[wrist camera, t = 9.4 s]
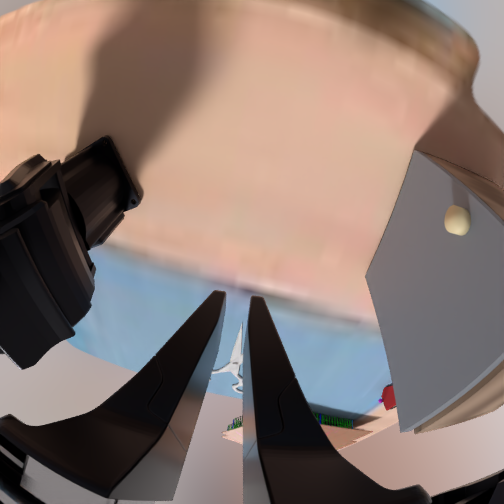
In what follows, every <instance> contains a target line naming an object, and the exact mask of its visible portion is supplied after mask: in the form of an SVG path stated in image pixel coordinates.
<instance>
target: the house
mask: <svg viewBox="0 0 504 504" xmlns="http://www.w3.org/2000/svg"><path fill="white" fill-rule="evenodd" d="M323 416H324V414H323ZM334 419H335V417H334ZM235 420H236V425H235V423H234V419H233V426H232V427H231V429H230V430H228V429H229V428H230V425H228V429H227V431H225V432H222V433H223V434H226V435H225V436H222V437H224V438H226V439H229V440H232V441H235V442H238V443H241V444H243V426H242V423H243V421H242V423H241V421H239V419H238V420H237V418H235ZM240 420H241V416H240ZM242 420H243V416H242ZM317 420H318V414H317ZM319 420H320V425H321V427H322V428H323V430H324V432H325V433H326V435H327V437H328V438H329V440H330V442H331V443H332V445H333V446H334V448H335V449H336V450H338V449H341V448H343V447H346V446H348V445H351V444H353V443H355V442H357V441H353V440H355V439H358V438H360V437H362V436H365V435H367V434H369V433H371V432H373V431H365V430H356V429H353V420H351V422H352V429H348V427H349V426H348V419H347V422H346V423H347V428H346V425H345V428H342V426H343V424H345V423H343V418H342V424H340V427H339V425H338V423H339V422H338V417H337V422H336V423H337V427H335V426H333V420H332V421H330V415H329V425H323V418H322V419H321V414H320V419H319ZM321 420H322V424H321ZM237 421H239V422H240V423H239V422H238V424H237ZM325 421H326V422H327V421H328V420H327V415H326V420H325ZM330 422H332V426H330ZM231 425H232V424H231ZM238 425H239V427H238ZM349 425H350V426H351V424H350V419H349ZM233 427H234V429H233Z"/></svg>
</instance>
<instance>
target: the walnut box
mask: <svg viewBox="0 0 504 504" xmlns="http://www.w3.org/2000/svg"><path fill="white" fill-rule="evenodd" d="M422 153H424V152H422ZM424 154H425V155H427V156H428V157H429V158H431V159H432V160H434V161H435V162H436V163H438V164H439V165H440V166H442V167H443V168H444V169H446V170H447V171H448V172H449V173H451V174H452V175H453V176H454V177H456V178H457V179H458V180H459V181H461V182H462V183H463V184H464V185H465V186H467V187H468V188H469V189H470V190H471V191H472V192H474V193H475V194H476V195H477V196H478V197H479V198H480V199H481V200H482V201H484V202H485V203H486V204H487V205H488V206H489V207H490V208H491V209H492V210H493V211H494V212H495V213H496V214H497V215H498V216H499V217H500V218H501V219H502V220H503V221H504V190H502V189H501V188H500V187H499V186H498V185H496V184H495V183H494V182H492V181H490V180H488V179H486V178H484V177H481V176H479V175H477V174H475V173H473V172H471V171H469V170H466V169H464V168H462V167H459V166H457V165H455V164H452V163H450V162H448V161H445V160H443V159H440V158H437V157H435V156H432V155H429V154H427V153H424ZM503 404H504V360H503V361H502V362H501V363H500V364H499V365H498V366H497V367H496V368H494V369H493V370H492V371H491V372H490V373H489V374H488V375H487V376H486V377H485V378H483V379H482V380H481V381H480V382H479V383H478V384H476V385H475V386H474V387H473V388H472V389H470V390H469V391H468V392H467V393H465V394H464V395H463V396H462V397H460V398H459V399H458V400H456V401H455V402H454V403H452V404H451V405H450V406H448V407H447V408H445V409H444V410H442V411H441V412H440V413H438V414H437V415H435V416H434V417H432V418H431V419H429V420H428V421H426V422H424V423H423V424H421V425H420V426H418V427H416V428H415V429H414V433H415V434H419V433H424V432H428V431H432V430H436V429H440V428H444V427H448V426H451V425H455V424H458V423H461V422H465V421H467V420H471V419H474V418H477V417H479V416H482V415H485V414H488V413H490V412H493V411H495V410H496V409H498V408H499V407H501V406H502V405H503Z"/></svg>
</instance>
